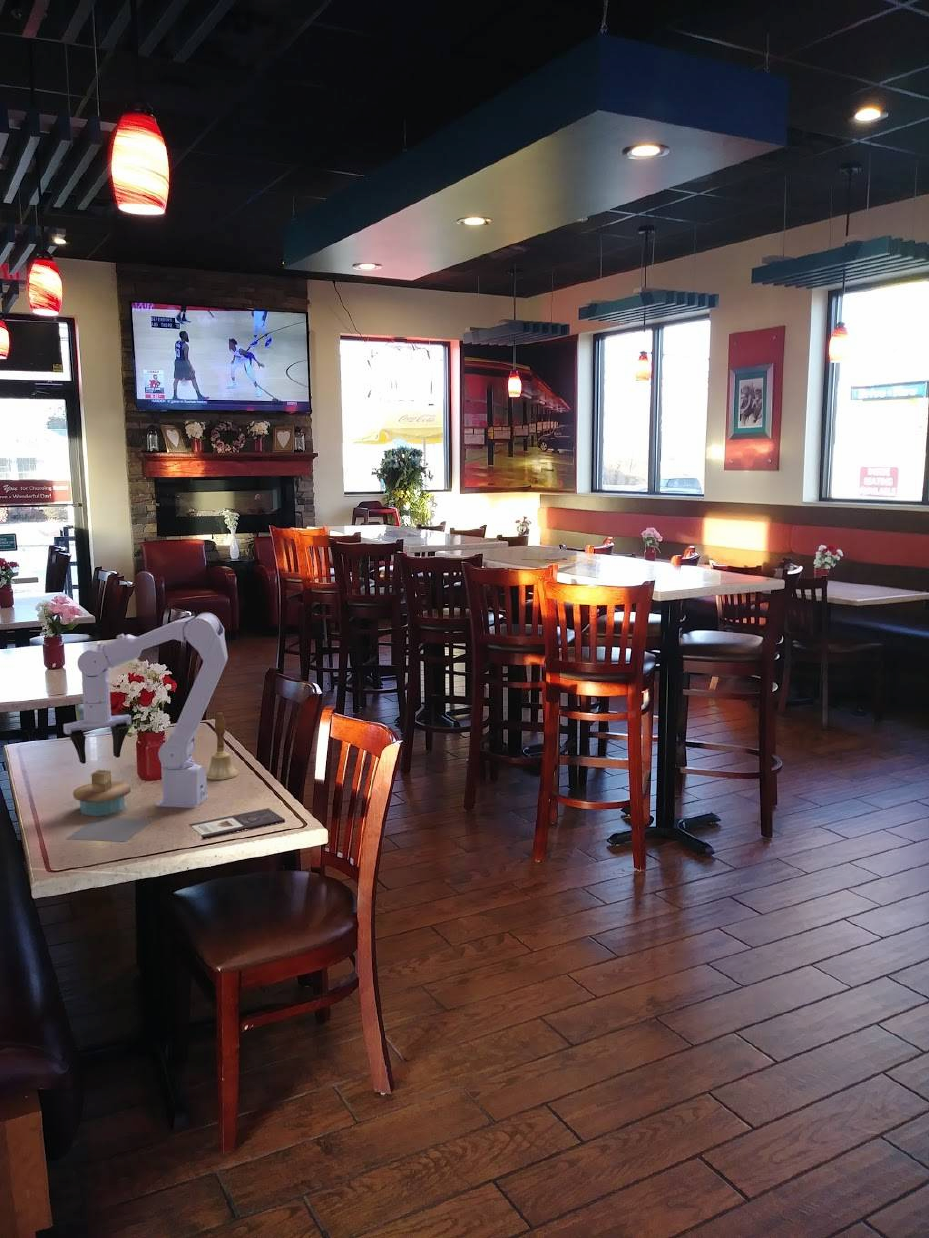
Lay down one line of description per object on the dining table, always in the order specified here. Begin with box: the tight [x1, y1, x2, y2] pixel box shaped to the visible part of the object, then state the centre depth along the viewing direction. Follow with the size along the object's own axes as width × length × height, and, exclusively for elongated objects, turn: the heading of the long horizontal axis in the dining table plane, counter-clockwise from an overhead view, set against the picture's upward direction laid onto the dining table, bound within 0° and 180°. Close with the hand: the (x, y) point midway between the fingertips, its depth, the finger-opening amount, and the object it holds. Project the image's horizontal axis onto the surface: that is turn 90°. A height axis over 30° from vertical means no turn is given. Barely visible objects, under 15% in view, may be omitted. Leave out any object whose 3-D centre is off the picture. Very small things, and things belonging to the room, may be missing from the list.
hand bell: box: [206, 711, 239, 781], centre depth 243 cm, size 8×8×16 cm
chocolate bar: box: [188, 807, 286, 840], centre depth 210 cm, size 9×1×18 cm
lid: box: [72, 769, 132, 802], centre depth 218 cm, size 12×12×5 cm
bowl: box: [79, 796, 125, 817], centre depth 219 cm, size 9×9×4 cm
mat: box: [65, 816, 154, 843], centre depth 206 cm, size 13×13×1 cm
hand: (99, 759), depth 221 cm, fingers open, 7 cm apart
